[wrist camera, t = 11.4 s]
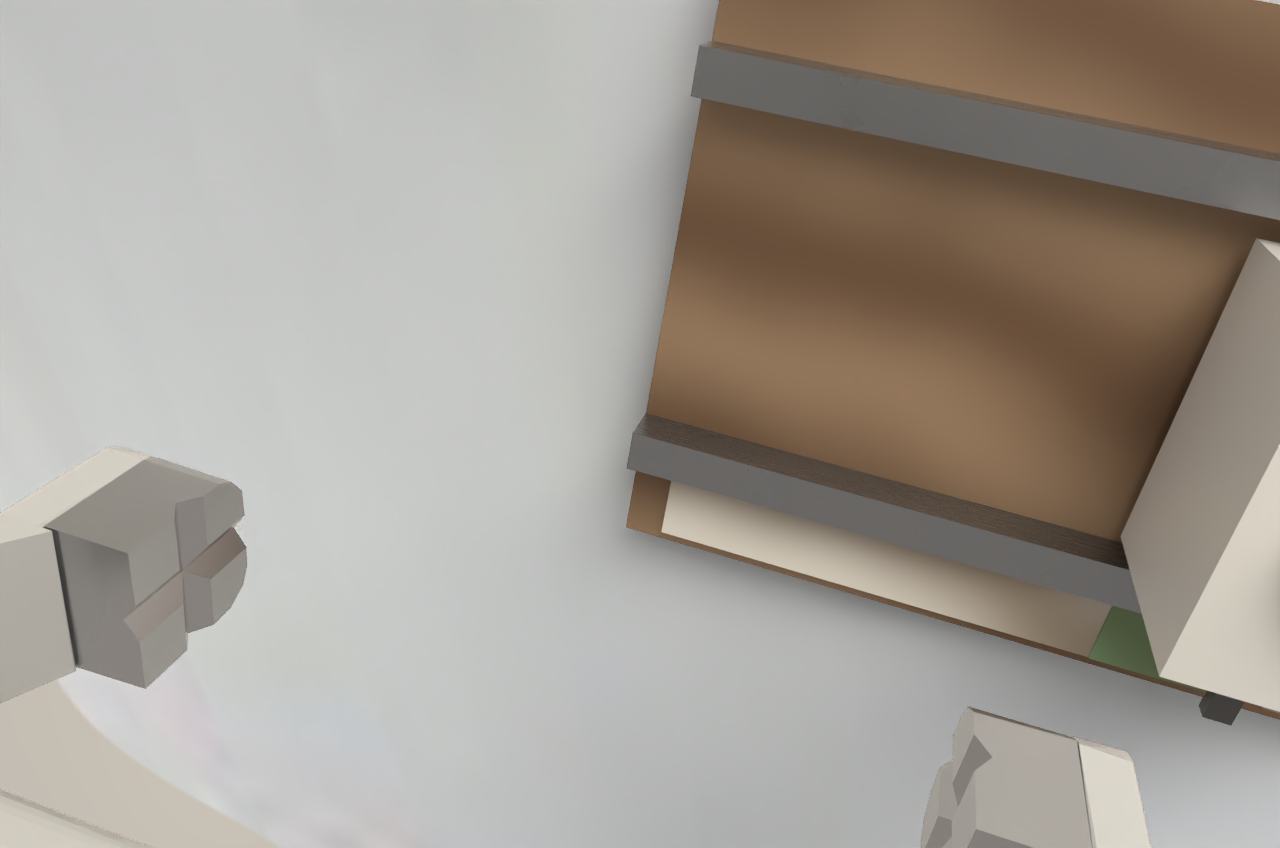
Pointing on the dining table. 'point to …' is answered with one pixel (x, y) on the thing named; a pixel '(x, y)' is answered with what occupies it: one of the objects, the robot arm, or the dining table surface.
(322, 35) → the dining table surface
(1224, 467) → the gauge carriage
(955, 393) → the gauge bench
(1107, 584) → the grey long frame
